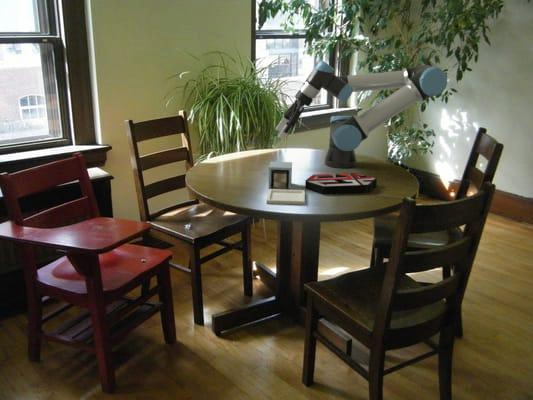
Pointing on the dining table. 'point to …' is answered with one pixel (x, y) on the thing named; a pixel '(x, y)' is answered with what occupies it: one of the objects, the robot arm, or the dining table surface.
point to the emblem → (340, 184)
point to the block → (280, 179)
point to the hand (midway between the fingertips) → (279, 134)
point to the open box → (280, 167)
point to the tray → (286, 197)
